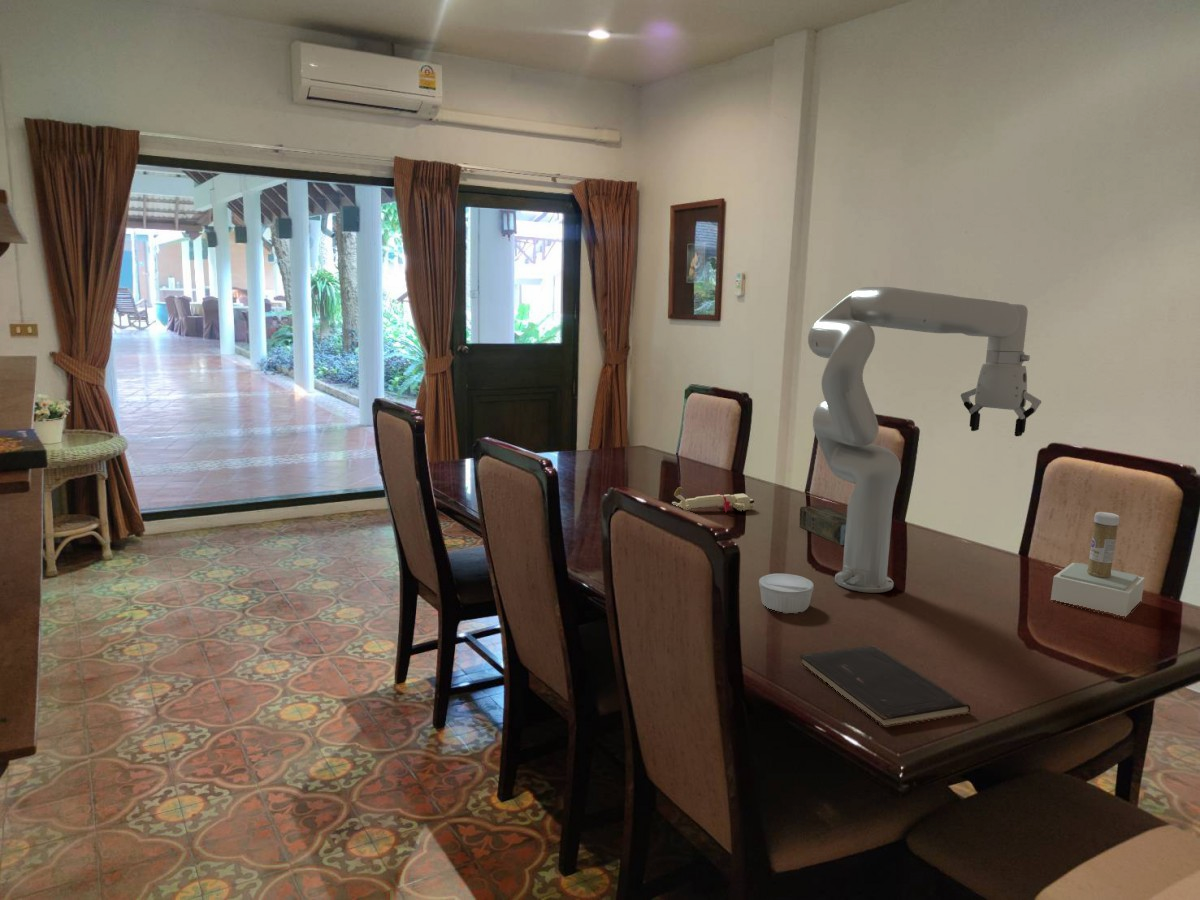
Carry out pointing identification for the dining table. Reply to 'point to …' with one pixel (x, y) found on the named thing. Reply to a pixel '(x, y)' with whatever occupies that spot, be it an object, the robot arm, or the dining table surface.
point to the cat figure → (715, 501)
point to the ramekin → (786, 592)
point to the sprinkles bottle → (1103, 544)
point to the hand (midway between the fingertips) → (996, 433)
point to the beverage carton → (824, 522)
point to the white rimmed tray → (1098, 589)
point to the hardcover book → (883, 685)
